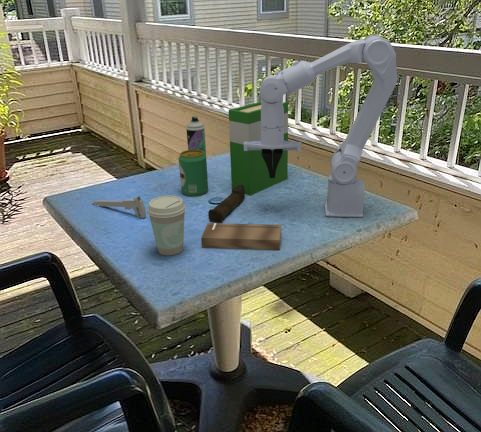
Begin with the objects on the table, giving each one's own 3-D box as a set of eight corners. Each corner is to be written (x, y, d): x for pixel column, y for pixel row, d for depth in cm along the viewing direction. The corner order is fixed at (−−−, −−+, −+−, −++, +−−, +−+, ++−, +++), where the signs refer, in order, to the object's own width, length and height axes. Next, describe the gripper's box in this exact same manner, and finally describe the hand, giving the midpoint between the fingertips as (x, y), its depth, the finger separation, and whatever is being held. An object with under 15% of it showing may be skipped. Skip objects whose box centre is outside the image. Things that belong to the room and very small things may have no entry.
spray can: (192, 175, 157) (187, 114, 149) (209, 176, 156) (205, 114, 148) (188, 181, 152) (183, 118, 144) (205, 182, 151) (201, 118, 143)
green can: (179, 189, 147) (175, 151, 142) (204, 185, 149) (202, 147, 144) (184, 198, 140) (181, 158, 135) (211, 194, 142) (208, 155, 137)
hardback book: (269, 174, 156) (268, 99, 146) (287, 179, 152) (288, 102, 142) (231, 190, 145) (228, 109, 135) (250, 195, 140) (248, 113, 130)
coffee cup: (157, 262, 106) (151, 212, 101) (148, 245, 114) (142, 198, 109) (194, 253, 109) (190, 205, 104) (183, 238, 117) (178, 192, 112)
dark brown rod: (221, 225, 123) (220, 208, 121) (208, 222, 125) (207, 206, 123) (253, 198, 139) (252, 183, 137) (240, 196, 140) (240, 181, 138)
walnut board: (281, 234, 117) (281, 224, 116) (279, 249, 110) (279, 239, 109) (208, 232, 119) (207, 222, 118) (201, 247, 112) (201, 237, 111)
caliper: (146, 218, 128) (143, 196, 126) (143, 220, 128) (141, 198, 125) (94, 203, 139) (91, 183, 136) (91, 205, 138) (87, 184, 135)
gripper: (301, 121, 124) (300, 172, 129) (245, 121, 125) (246, 171, 131) (301, 128, 117) (300, 181, 123) (242, 128, 119) (243, 180, 125)
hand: (272, 176), depth 127 cm, fingers closed
